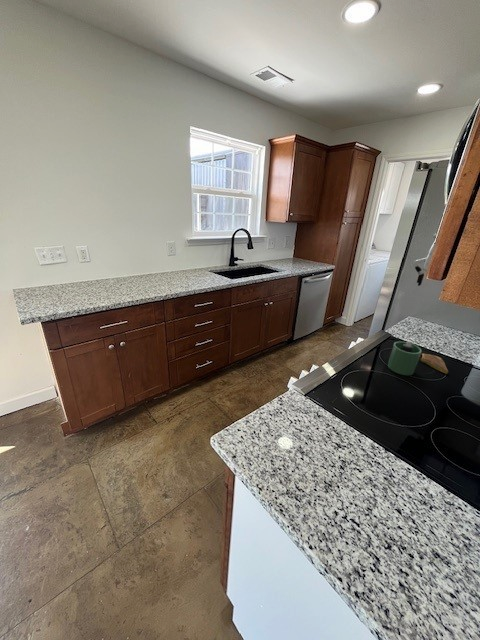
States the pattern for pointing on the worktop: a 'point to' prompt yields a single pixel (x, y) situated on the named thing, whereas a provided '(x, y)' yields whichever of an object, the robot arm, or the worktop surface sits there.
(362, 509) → the worktop surface
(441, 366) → the shard
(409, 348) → the dark bottle
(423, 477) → the worktop surface
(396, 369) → the green cup
